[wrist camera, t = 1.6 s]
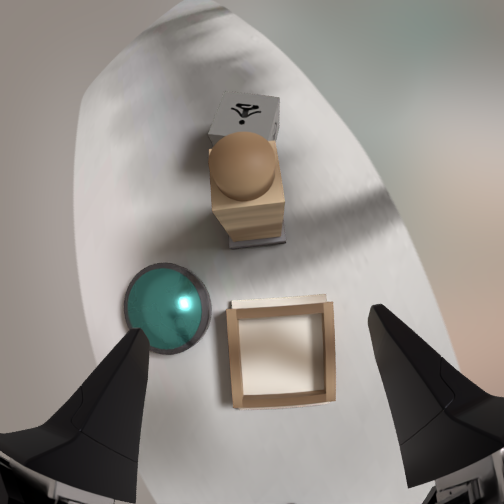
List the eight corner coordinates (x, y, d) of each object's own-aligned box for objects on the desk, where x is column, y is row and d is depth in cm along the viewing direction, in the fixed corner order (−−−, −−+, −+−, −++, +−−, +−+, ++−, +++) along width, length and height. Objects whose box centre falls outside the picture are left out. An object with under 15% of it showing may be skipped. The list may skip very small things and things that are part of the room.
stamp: (285, 242, 24) (295, 196, 13) (231, 249, 24) (196, 208, 13) (278, 191, 25) (281, 117, 14) (226, 198, 25) (194, 128, 14)
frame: (331, 401, 21) (335, 407, 20) (236, 408, 22) (233, 414, 20) (328, 293, 23) (332, 293, 21) (228, 300, 24) (225, 300, 22)
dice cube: (279, 128, 26) (279, 97, 21) (269, 169, 25) (267, 142, 20) (232, 121, 27) (224, 91, 22) (219, 161, 26) (207, 133, 21)
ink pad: (229, 321, 23) (226, 323, 22) (160, 366, 23) (154, 370, 21) (180, 247, 25) (174, 244, 23) (117, 295, 24) (109, 295, 23)
